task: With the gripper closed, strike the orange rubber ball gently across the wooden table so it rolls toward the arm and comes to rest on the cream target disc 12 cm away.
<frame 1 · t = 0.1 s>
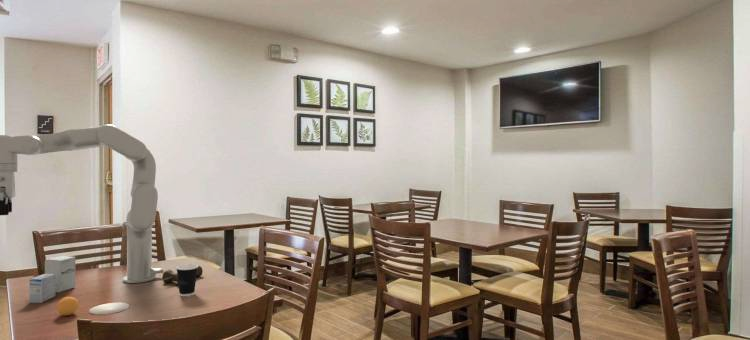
hand: (4, 213, 167), 31 cm above the table, tool pointing down, fingers open, 9 cm apart
dixie cup: (187, 295, 173), on the table
ball: (67, 306, 149), on the table
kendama: (181, 282, 191), on the table
supplement box: (60, 289, 177), on the table
target disc: (109, 308, 156), on the table
medicine box: (42, 300, 164), on the table
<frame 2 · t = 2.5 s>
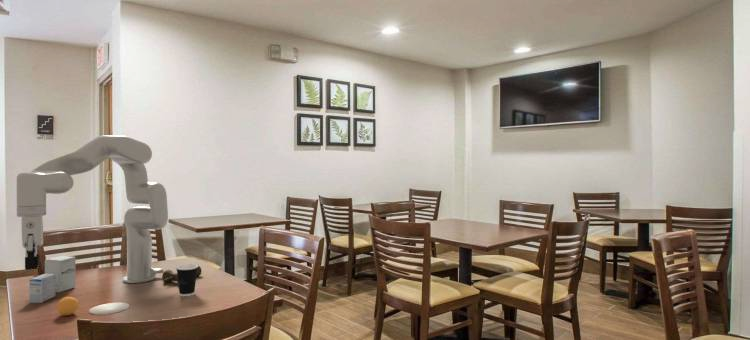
hand: (31, 267, 143), 17 cm above the table, tool pointing down, fingers open, 3 cm apart
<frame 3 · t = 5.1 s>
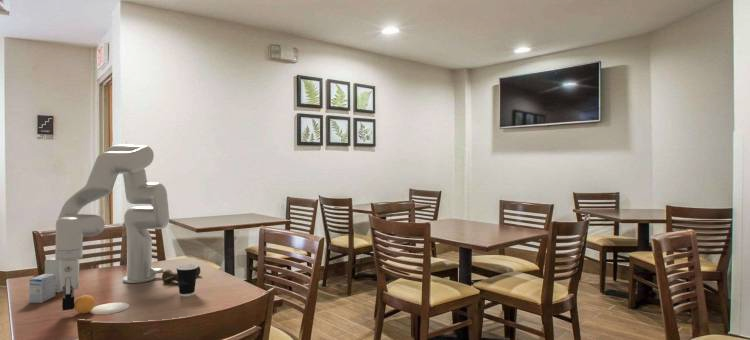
hand: (68, 309, 148), 2 cm above the table, tool pointing down, fingers closed
ball: (84, 304, 151), on the table, touching gripper
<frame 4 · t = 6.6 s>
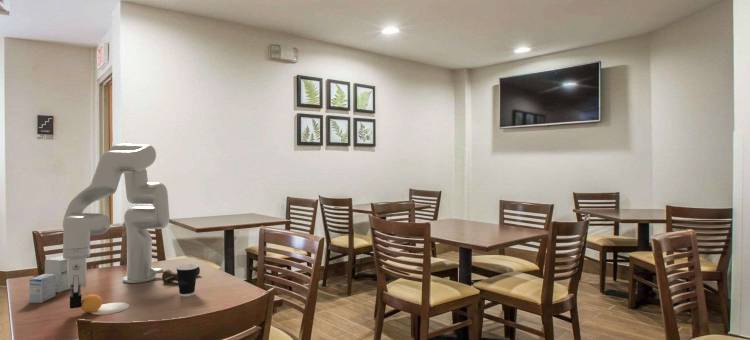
hand: (75, 307, 149), 2 cm above the table, tool pointing down, fingers closed
ball: (91, 303, 152), on the table, touching gripper
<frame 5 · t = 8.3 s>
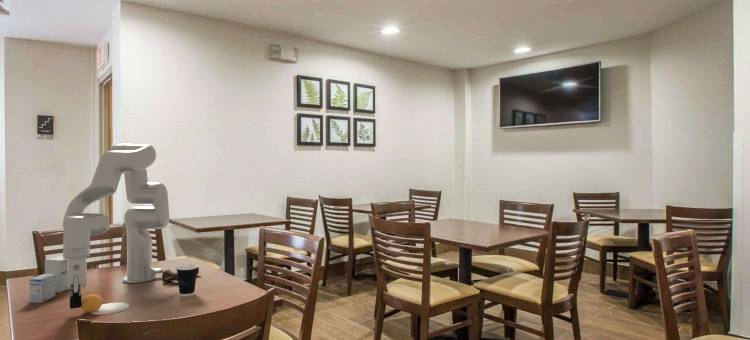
hand: (75, 307, 149), 2 cm above the table, tool pointing down, fingers closed
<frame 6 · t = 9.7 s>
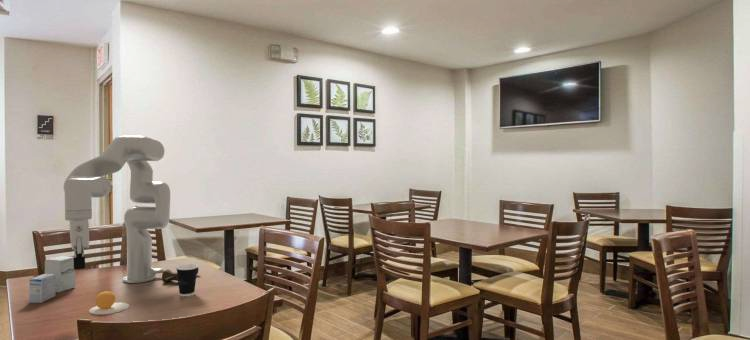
hand: (79, 268, 151), 15 cm above the table, tool pointing down, fingers closed
ball: (105, 300, 156), resting on target disc
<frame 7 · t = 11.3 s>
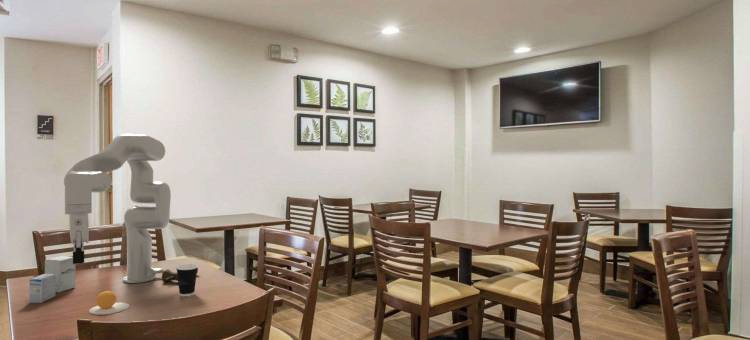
hand: (78, 263, 150), 17 cm above the table, tool pointing down, fingers closed
at the end: ball 1.4 cm from the target disc (horizontally); ball at rest at the end (0.0 cm/s); ball moved 11.1 cm from its start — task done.
